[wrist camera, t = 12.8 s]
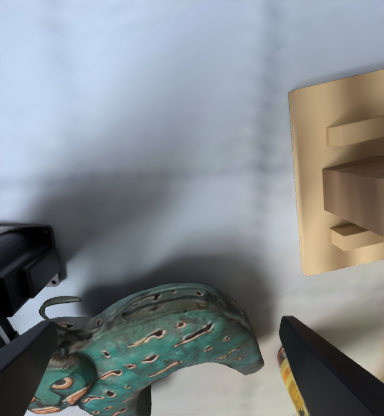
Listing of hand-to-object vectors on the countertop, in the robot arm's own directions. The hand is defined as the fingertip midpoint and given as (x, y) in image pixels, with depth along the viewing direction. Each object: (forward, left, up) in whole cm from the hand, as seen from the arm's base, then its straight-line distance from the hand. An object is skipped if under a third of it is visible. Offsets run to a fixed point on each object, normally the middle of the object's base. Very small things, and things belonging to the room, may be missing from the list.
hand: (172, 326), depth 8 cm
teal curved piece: (+2, -20, -12) cm, 24 cm away
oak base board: (+17, +4, -13) cm, 22 cm away
